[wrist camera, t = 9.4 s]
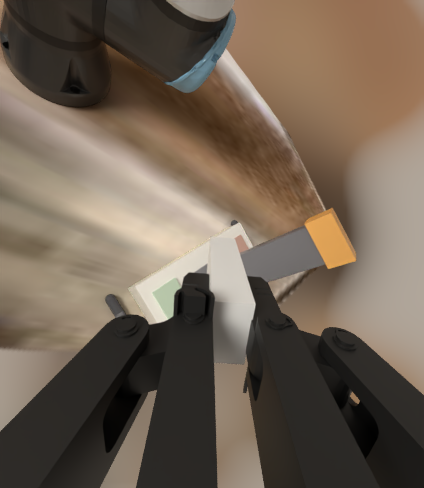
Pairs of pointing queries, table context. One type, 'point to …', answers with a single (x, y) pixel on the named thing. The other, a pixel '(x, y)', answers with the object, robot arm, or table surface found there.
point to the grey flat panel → (115, 304)
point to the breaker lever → (301, 249)
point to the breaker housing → (178, 277)
